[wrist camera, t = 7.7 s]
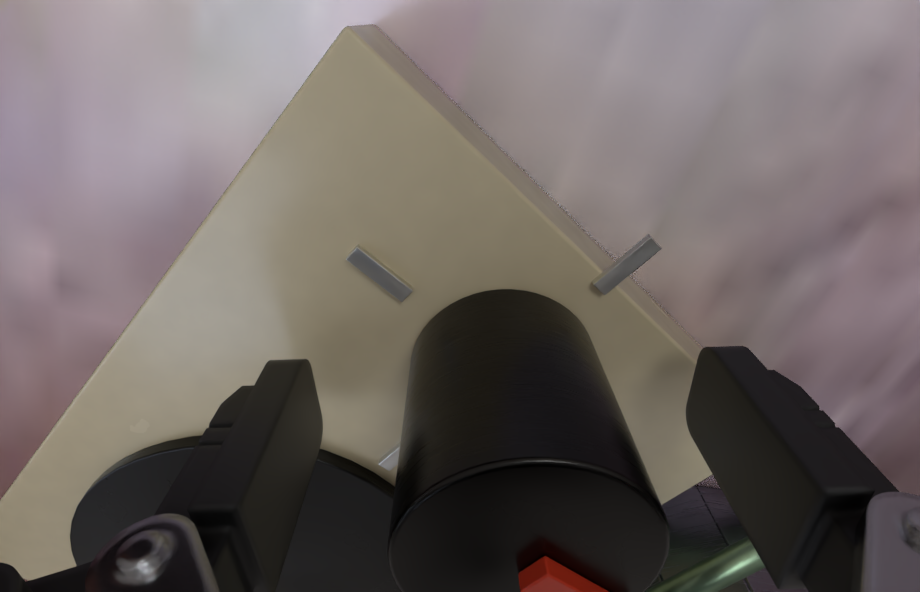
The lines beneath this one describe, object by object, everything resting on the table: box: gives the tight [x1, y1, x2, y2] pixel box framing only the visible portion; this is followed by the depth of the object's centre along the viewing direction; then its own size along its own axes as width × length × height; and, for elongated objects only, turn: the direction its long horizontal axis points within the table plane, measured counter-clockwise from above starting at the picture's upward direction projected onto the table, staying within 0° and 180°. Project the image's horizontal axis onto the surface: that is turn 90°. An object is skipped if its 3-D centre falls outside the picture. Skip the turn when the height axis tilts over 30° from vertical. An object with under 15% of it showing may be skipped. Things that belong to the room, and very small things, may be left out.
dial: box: [387, 289, 670, 592], centre depth 9 cm, size 4×4×5 cm
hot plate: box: [0, 24, 713, 581], centre depth 14 cm, size 19×13×3 cm
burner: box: [70, 435, 402, 592], centre depth 14 cm, size 10×10×1 cm
